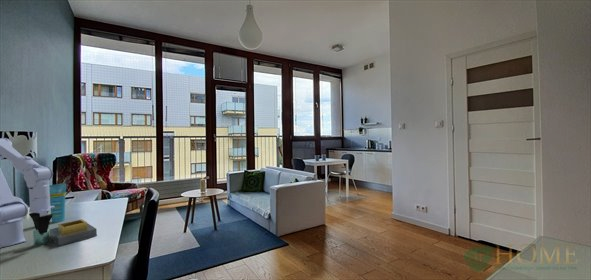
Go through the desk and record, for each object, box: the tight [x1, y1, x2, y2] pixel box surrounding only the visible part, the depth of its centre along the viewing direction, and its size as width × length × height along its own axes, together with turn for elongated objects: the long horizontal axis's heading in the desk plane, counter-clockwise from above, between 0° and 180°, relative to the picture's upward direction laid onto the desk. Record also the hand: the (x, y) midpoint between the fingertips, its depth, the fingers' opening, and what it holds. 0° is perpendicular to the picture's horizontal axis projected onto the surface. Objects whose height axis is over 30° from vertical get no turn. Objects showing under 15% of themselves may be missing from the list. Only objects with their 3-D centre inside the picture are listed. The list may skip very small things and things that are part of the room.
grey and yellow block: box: [49, 218, 98, 247], centre depth 108 cm, size 12×18×6 cm, turn 53°
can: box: [32, 227, 51, 247], centre depth 100 cm, size 4×4×6 cm
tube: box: [49, 183, 67, 223], centre depth 130 cm, size 7×5×19 cm, turn 123°
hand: (41, 231), depth 100 cm, fingers open, 7 cm apart
